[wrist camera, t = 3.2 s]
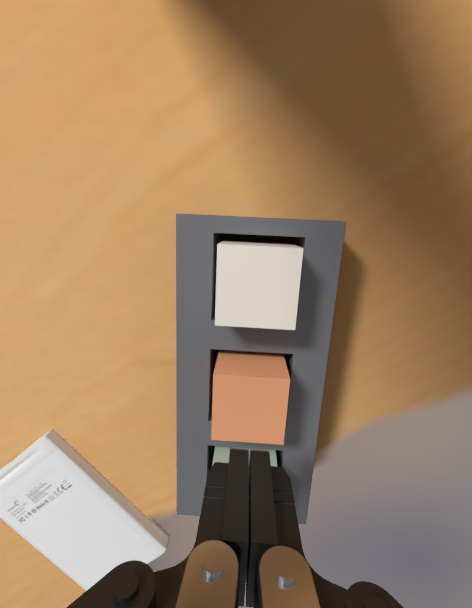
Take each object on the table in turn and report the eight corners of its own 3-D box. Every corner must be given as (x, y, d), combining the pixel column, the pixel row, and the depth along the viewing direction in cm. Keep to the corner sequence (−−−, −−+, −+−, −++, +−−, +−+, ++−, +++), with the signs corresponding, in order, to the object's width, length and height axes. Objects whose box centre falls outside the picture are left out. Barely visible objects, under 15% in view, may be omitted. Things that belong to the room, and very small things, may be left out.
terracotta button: (220, 346, 17) (213, 374, 14) (282, 349, 17) (290, 379, 14) (218, 401, 18) (211, 439, 15) (277, 405, 18) (283, 444, 15)
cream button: (223, 240, 16) (217, 244, 13) (292, 243, 16) (303, 248, 13) (221, 306, 17) (214, 325, 14) (286, 309, 17) (295, 330, 13)
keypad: (188, 215, 17) (176, 213, 14) (329, 222, 17) (346, 221, 14) (186, 475, 22) (177, 514, 19) (298, 484, 22) (305, 524, 19)
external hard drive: (100, 575, 25) (-14, 479, 23) (171, 531, 24) (56, 423, 22) (90, 599, 24) (-33, 497, 22) (166, 553, 22) (41, 438, 20)
